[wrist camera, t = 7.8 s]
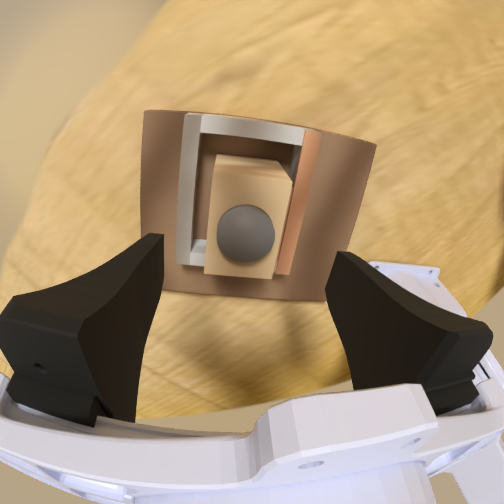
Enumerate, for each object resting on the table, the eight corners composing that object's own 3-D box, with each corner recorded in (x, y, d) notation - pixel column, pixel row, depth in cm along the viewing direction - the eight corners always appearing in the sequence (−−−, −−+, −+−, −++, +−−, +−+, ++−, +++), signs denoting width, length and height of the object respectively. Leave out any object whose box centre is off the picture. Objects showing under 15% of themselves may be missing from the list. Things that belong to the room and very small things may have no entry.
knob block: (279, 160, 19) (298, 187, 14) (264, 239, 22) (275, 287, 17) (217, 152, 18) (212, 176, 13) (208, 234, 21) (203, 281, 16)
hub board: (369, 141, 20) (391, 151, 17) (324, 293, 26) (335, 317, 23) (149, 109, 17) (134, 113, 14) (147, 279, 24) (138, 304, 21)
